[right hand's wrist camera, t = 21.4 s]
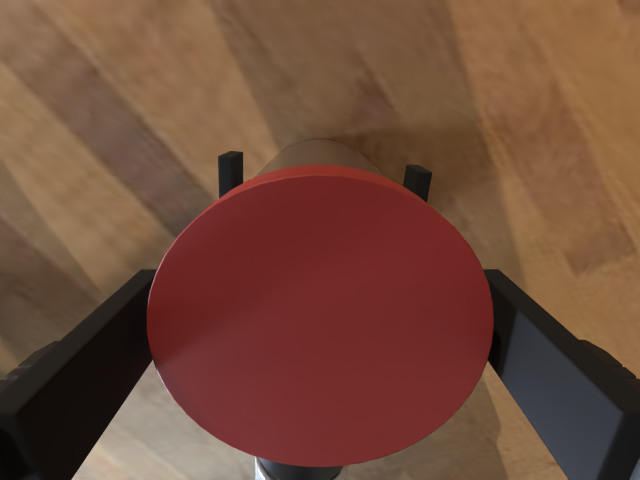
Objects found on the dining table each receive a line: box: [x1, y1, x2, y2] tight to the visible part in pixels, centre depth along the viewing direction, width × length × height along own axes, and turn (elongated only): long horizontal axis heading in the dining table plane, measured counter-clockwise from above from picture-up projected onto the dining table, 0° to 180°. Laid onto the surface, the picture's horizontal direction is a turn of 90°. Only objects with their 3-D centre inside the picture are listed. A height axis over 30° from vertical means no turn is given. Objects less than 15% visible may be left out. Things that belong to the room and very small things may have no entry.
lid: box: [147, 164, 494, 467], centre depth 11 cm, size 11×11×2 cm
